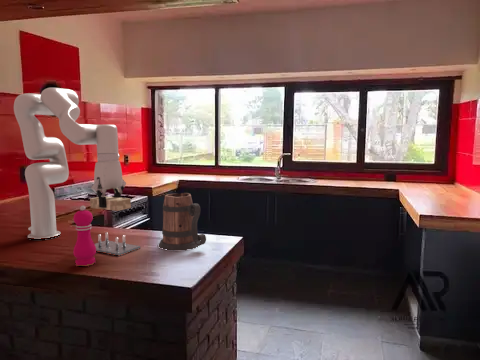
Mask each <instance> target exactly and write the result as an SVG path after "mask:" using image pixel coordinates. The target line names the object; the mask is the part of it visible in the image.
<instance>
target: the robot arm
mask: <svg viewBox="0 0 480 360" xmlns="http://www.w3.org/2000/svg"><path fill="white" fill-rule="evenodd" d="M79 103H80V100H79V96H78V94H77V93H76V92H75V91H74V90H73V89H69V88H62V87H61V88H60V87H47V88H44V89H43V90H42V91H41V93H32V92H31V93H30V92H28V93H26V92H25V93H22V94H19V95H17V96H16V97H15V99H14V103H13V113H14V116H15V118H16V121H17V123H18V126H19V129H20V135H21V140H22V143H23V145H22V146H23V149H24V153H25V156H26V157H27V158H28V159H29V160H33V161H37V160H38V161H39V160H49V161H48V162H47V161H44V162H35V163H32V164H31V163H30V165H28V166H27V167H26V168H25V170H24V177H25V178H24V179H25V181H26V184H27V188H28V189H27V190H28V198H29V210H30V211H29V212H30V213H29V214H30V223H31V224H30V225H31V226H29V227H28V231H30V233H29V234H28V235H27V239H28V238H34V239H41V238H50V237H54V236H58V235H60V234H61V231H59V230H57V220H56V219H57V216H56V215H57V214H56V200H55V199H56V197H55V193H54V191H53V189H52V188H51V187H50V185H57V184H63V183H64V182H66V181H67V180H68V178H69V176H70V175H69V174H70V171H69V164H68V159H67V154H66V149H65V145H64V143H63V142H62V140H61V139H60V138H57V137H55V136H46V134H45V131H44V127H43V124H42V123H41V121H40V120H39V119H38V118H37V117H36V116H35V115H38V116H39V115H40V116H42V115H43V116H55V117H57V118H58V120H59V121H58V125H59V129H60V132H61V133H62V134H63V136H65V138H66V139H68V140H69V141H70V142H71V143H73V144H75V145H79V146H81V145H96V159H97V160H96V161H97V162H95V165H94V173H93V174H94V177H93V183H94V184H93V185H92V186H91V188H90V189H91V190H92V191H93V192H94V193H95V195H96V197H99V207H101V208H106V197H104V196H106V193H107V190H112V189H113V192H114V193H113V197H118V198H122V194H123V190H124V188H125V187H126V184H127V182H126V181H125V179H123V171H122V165H121V161H119V160H120V157H121V155H120V154H119V135H118V127H117V125H115V124H107V123H106V124H92V123H91V124H89V123H78V122H77V120H78V118H79V117H80V114H81V109H80V107H79ZM60 236H61V235H60ZM58 237H59V236H58Z"/></svg>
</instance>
